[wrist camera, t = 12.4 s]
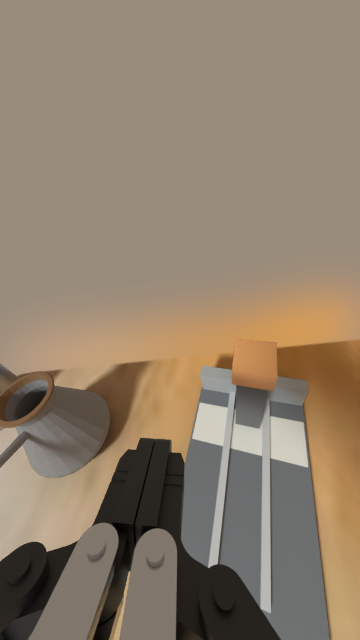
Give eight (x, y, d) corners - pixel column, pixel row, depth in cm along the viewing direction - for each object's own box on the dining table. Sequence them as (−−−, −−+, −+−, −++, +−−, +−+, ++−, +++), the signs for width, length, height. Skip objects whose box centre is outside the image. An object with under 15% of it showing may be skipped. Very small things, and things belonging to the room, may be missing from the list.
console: (328, 666, 17) (354, 700, 13) (161, 584, 21) (146, 594, 17) (300, 397, 31) (308, 379, 28) (204, 382, 35) (201, 364, 32)
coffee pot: (65, 397, 38) (2, 344, 28) (126, 400, 36) (82, 342, 25) (-33, 590, 23) (-249, 629, 13) (61, 616, 21) (-110, 690, 10)
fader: (262, 432, 27) (277, 377, 18) (232, 426, 29) (231, 371, 19) (263, 404, 30) (276, 342, 21) (234, 398, 31) (235, 338, 22)
